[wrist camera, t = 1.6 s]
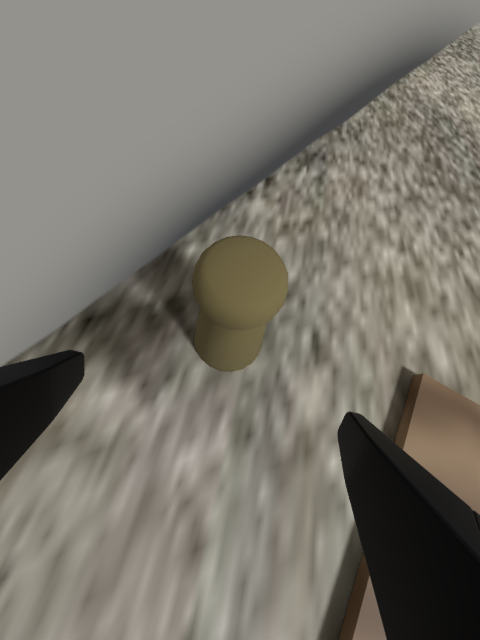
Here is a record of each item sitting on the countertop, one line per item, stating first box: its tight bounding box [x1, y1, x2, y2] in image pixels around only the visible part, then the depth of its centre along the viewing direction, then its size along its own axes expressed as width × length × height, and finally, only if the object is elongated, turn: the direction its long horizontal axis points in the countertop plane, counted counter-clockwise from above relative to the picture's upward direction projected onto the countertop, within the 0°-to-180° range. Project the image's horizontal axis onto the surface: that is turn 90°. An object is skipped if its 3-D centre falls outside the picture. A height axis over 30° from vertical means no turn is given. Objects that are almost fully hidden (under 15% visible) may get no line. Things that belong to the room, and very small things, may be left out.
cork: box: [192, 236, 288, 372], centre depth 17 cm, size 6×6×11 cm
